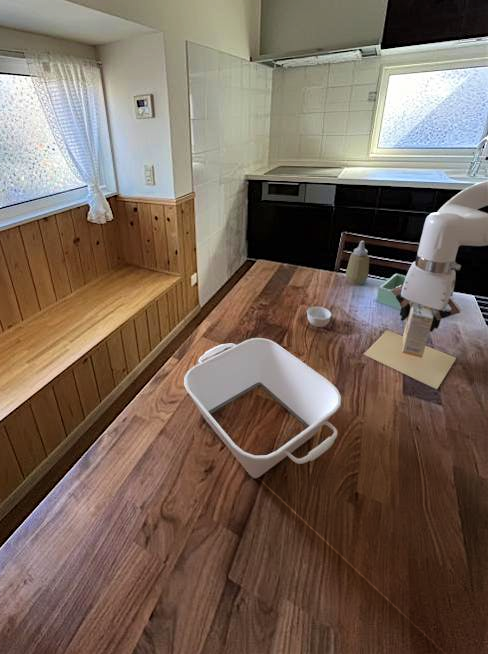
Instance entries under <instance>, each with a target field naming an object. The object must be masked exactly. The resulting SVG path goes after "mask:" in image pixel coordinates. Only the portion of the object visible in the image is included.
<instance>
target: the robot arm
mask: <svg viewBox="0 0 488 654" xmlns="http://www.w3.org/2000/svg"><path fill="white" fill-rule="evenodd" d="M487 206H488V179H485V180H483V181H480V182H477V183H475V184H472V185H470V186H468V187H466V188H464V189H463V190H462V189H461V190H460V192H458V193H457V194H455V195H454V196H452V197H451V198H450V199H449V200H447V201H446V202H445V203H443V205H442V206H441V207H440V208H439V209H438V210H437V212H432V213H430V214H429V215H427V216H426V218H425V221H424V223H423V228H422V233H421V237H420V240H419V244H418V250H417V254H416V257H415V261H413V262H412V263H411V265H410V267H409V269H408V271H407V273H406V275H405V276H406V278H405V281H404V283H403V284H401V285H399V286H396V287H394V288H393V289H391V291H392V293H393V294H394V295H395V296H396V299H397V300H398V302H399V303H400V306H401V310H400V312H399V316H401V317H400V321H401V322H404V321H406V320H407V317H408V313H409V309H410V304H409V302H410V301H412V302H415V303H418V304H421V305H424V306H427V307H430V308H433V321H432V325H431V328H430V331H429V332H432V333H433V331H434V330H436V329H437V330H438V328H439V327H440V323H441V321H442V319H445V318H449V317H451V316H454V315H458V314H460V313H461V311H462V309H461V307H460V306H459V304H458V303H457V301H456V300H455V298H453V294H454V290H455V286H456V285H455V284H456V277H457V275H456V271H460V270H461V268H462V265H461V264H459V263H457V262H456V258H457V254H458V250H459V247H460V246H470V247H471V246H472V247H485V246H488V212H485V211H482V210H479V209H481V208H484V207H487ZM447 306H449V309H446V308H447Z"/></svg>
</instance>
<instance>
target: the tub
mask: <svg viewBox="0 0 488 654" xmlns="http://www.w3.org/2000/svg"><path fill="white" fill-rule="evenodd" d="M225 349H226V350H225ZM183 386H184V388H185V390H186V392H187V393H188V395H189V396H190V397H191V399H192V401H193V402H194V404H195V405H196V408H197V409H198V411H199V412H200V413H201V415H202V417H203V418H204V420H205V421H206V422H207V424H208V425H209V427H211V429H212V430H213V431H214V432H215V434H216V435H217V437H218V438H219V439H220V440H221V442H223V444H224V445H225V446H226V447H227V449H228V450H229V451H230V452H231V454H232V455H233V456H234V458H236V460H237V461H238V462H239V463H240V465H241V466H242V467H243V469H244V470H245V471H246V472H247V473H248V475H249V476H250V477H251V478H252V479H258V478H260V477H261V476H263V475H264V474H265V473H266V472H268V471H269V470H271V469H272V468H273V467H275V466H276V465H278V464H279V463H280V462H281V461H282V460H284V459H285V458H286V457H288V458H289V459H290V460H291V461H292V462H294V463H295V464H298V465H300V464H302V465H303V464H305V463H308V462H309V461H310V462H312V461H314V460H316V459H318V458H319V457H321V456H322V455H323V454H324V453H325V452H327V451H328V450H329V449H330V448H331V447H332V446H333V444H334V443H335V441H336V439H337V437H338V429H337V428H336V427H335V426H334V425H333V424H332V423H331V422H329V421H328V420H329V419H330V418H331V417H332V416H333V415H335V414H336V413H337V411H338V410H340V408H341V406H342V395H341V394H340V392H339V390H338V388H337V387H336V386H335V385H334V384H333V383H332V382H331V381H329V380H328V379H327V378H325V377H324V376H323V375H322V374H320V373H318V372H317V371H316V370H315V369H313V368H312V367H310V366H309V365H307V364H306V363H304V362H303V361H302V360H301V359H300V358H298V357H297V356H295V355H294V354H292V353H291V352H289V351H288V350H286V349H285V348H283V347H282V346H281V345H280V344H278V342H275V341H273V340H272V339H268V338H264V337H252V338H249V339H246V340H244V341H242V342H239V343H237V344H236V343H232V342H230V343H222V344H219V345H217V346H214V347H212V348H210V349H208V350H206V351H204V354H202V355H201V356H200V357H199V358H198V363H197V364H195V365H193V367H190V369H188V370H187V372H186V374H185V375H184V377H183ZM257 387H261V388H262V389H264V391H265V392H266V393H268V394H269V395H270V396H271V397H272V398H273V399H274V400H275V401H277V402H278V403H279V404H280V405H281V406H282V407H283V408H284V409H286V410H287V412H289V413H290V414H291V415H292V416H293V417H295V419H296V420H298V421H299V422H300V423H301V424H302V425H303V426H304V427H305V428H306V429H304V430H303V431H301V432H300V433H298V434H297V435H296V436H295V437H293V438H292V439H290V440H289V441H288V442H286V443H284V444H283V445H282V446H281V447H279V448H278V449H277V450H275V451H273V452H270V453H268V454H266V455H264V454H263V455H254V454H252V453H249V452H247V451H244V450H243V449H241V448H240V447H239V446H238V445H237V444H236V443H235V442H234V441H233V440H232V439H231V437H230V436H229V435H228V434H227V433H226V430H224V429H223V427H222V426H221V425H220V424H219V423H218V422H217V421H216V419H215V418H214V417H213V416H212V415H211V414H213V413H215V412H216V411H218V410H219V409H221V408H223V407H225V406H226V405H228V404H230V403H232V402H233V401H235V400H236V399H239V397H242V396H244V395H245V394H247V393H248V392H250V391H251V390H254V389H255V388H257ZM325 425H326V426H327V427H328V428H329V429H330V430H332V435H331V436H330V435H329V436H328V437H327V438H326V439H325V440H323V441H322V442H321V443H320V444H318V445H317V446H316V447H314V448H312V449H311V450H310V451H308V453H307V455H304V456H302V457H300V458H298V457H296V456H294V454H293V452H294V451H296V450H297V449H298V448H300V447H301V446H302V445H303V444H305V443H306V442H308V441H309V440H311V439H312V438H313V437H314V436H315V435H316V434H317V433H318V431H320V429H322V427H323V426H325Z"/></svg>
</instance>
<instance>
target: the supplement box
mask: <svg viewBox="0 0 488 654" xmlns="http://www.w3.org/2000/svg"><path fill="white" fill-rule="evenodd" d="M433 317H434V310H433V308H430V307H427V306H424V305H421V304H418V303H415V302H412V301H411V305H410V309H409V313H408V317H407V318H406V320H405V321H406V322H405V325H404V330H403V335H402V336H403V349H402V353H404V354H408V355H412V356H416V357H420V358H422V356H423V353H424V349H425V345H426V346H427V343H428V342H427V341H428V339H429V335H430V332H431V331H430V328H431V325H432V321H433Z"/></svg>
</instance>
